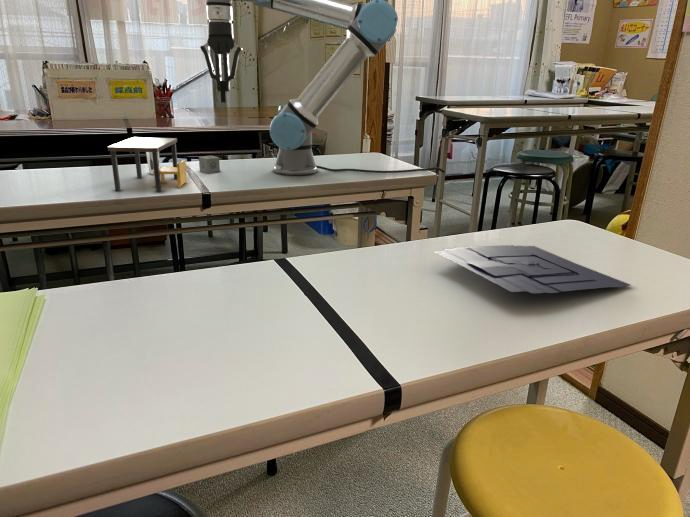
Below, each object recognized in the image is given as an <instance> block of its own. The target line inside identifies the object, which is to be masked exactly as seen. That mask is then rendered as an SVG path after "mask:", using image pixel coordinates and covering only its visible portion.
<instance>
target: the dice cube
mask: <svg viewBox="0 0 690 517" xmlns="http://www.w3.org/2000/svg"><path fill="white" fill-rule="evenodd" d="M220 165H221V164H220V157H219V156H215V155H205V156H198V166H199V172H201V173H205V174H214V173H220V172H221V168H220Z"/></svg>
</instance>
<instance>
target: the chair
mask: <svg viewBox="0 0 690 517" xmlns="http://www.w3.org/2000/svg"><path fill="white" fill-rule="evenodd" d="M159 170H160V181H161V184H165V183H166V180H165V179H166V178H165V175H174V174H177V179H176V180H177V188H178V189H180V188H182V186H183V185H184V184H187V181H188V177H187V163H186V159H182V160H181V161H179V162H177V167H173V166H159ZM153 173H154V171H153ZM153 175H154V177H155V174H153ZM154 187H156V184H155V186H154Z"/></svg>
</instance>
